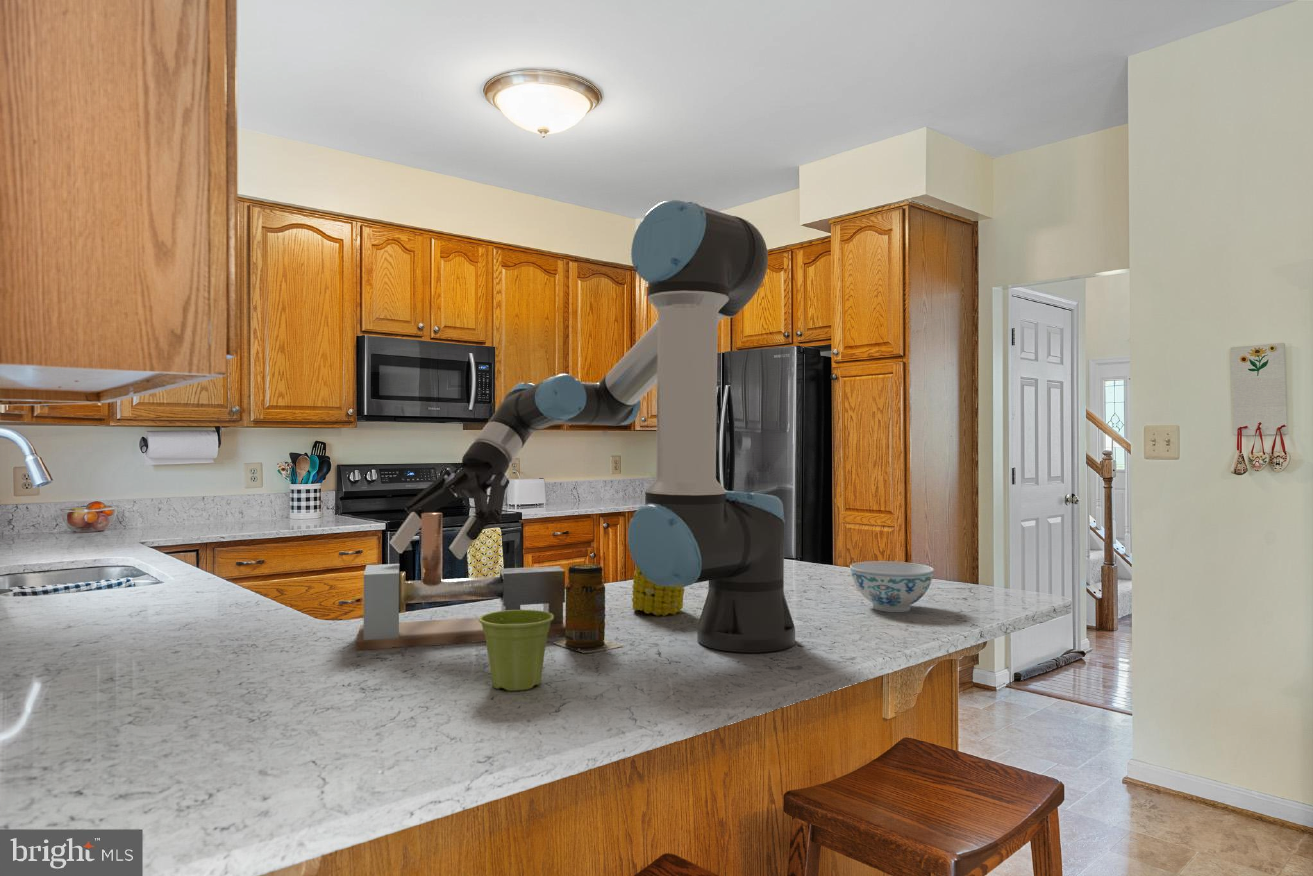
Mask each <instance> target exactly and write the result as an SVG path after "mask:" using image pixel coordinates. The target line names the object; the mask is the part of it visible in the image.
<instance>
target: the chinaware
mask: <svg viewBox="0 0 1313 876" xmlns="http://www.w3.org/2000/svg"><path fill="white" fill-rule="evenodd" d="M849 568H850V573H851V577H852V580H853V583H854V586H855V587H856V588H857V590H858V592H860V594H861V595H862V596H863V597H864V598H865V599H866V600H867V601H869V602H870V603H872V608H873V610H876V611H880V612H888V613H905V612H909V611H911V605H914V604H915V603H917V602H918V601H919V600H921V598H923V597H924V596H925V594H926V593H927V592H928V590H929V588H930V586H931V583H932V581H933V577H934V573H935V569H934V568H933V567H931V566H930V565H926V564H922V563H921V564H919V563H914V562H904V561H892V560H891V561H888V560H887V561H885V560H878V561H877V560H876V561H875V560H874V561H873V560H872V561H871V560H870V561H861V562H860V561H859V562H855V563H854V562H853V563H851V564H850V566H849Z"/></svg>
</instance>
